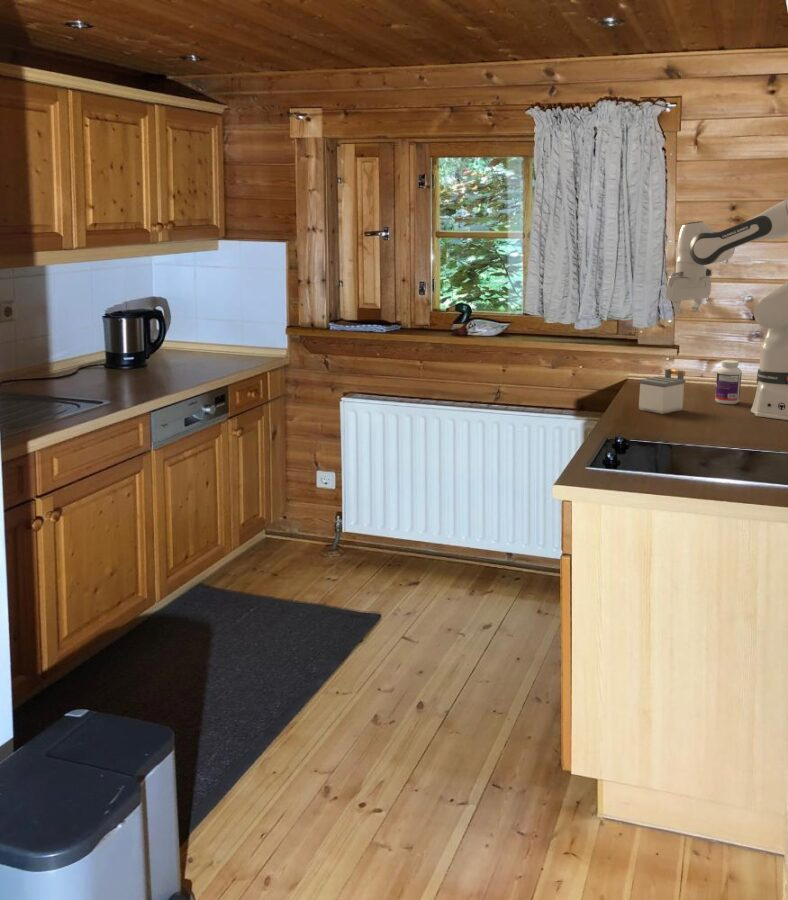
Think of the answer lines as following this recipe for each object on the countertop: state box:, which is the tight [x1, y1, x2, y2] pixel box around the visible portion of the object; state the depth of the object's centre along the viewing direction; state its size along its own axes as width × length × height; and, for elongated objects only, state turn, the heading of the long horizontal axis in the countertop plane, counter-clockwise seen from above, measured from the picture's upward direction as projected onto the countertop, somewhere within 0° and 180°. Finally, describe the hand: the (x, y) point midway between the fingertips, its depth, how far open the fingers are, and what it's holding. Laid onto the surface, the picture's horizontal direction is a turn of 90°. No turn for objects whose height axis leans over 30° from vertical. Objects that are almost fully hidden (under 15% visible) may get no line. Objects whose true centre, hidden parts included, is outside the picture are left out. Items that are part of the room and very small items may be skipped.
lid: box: [639, 368, 686, 387], centre depth 350 cm, size 14×10×4 cm
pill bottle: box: [714, 359, 742, 405], centre depth 362 cm, size 8×8×14 cm
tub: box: [638, 382, 685, 415], centre depth 351 cm, size 9×11×9 cm
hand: (686, 313), depth 354 cm, fingers open, 8 cm apart
